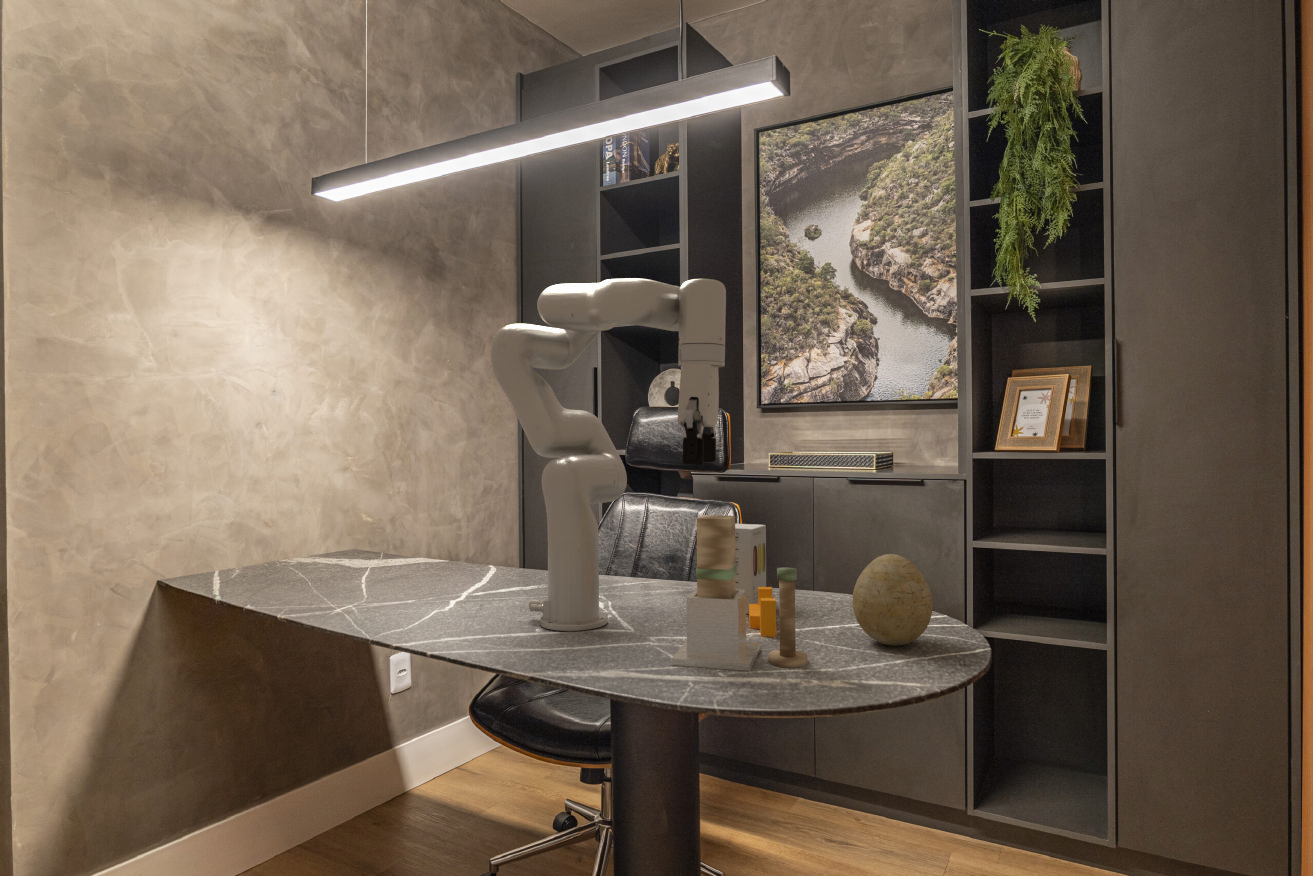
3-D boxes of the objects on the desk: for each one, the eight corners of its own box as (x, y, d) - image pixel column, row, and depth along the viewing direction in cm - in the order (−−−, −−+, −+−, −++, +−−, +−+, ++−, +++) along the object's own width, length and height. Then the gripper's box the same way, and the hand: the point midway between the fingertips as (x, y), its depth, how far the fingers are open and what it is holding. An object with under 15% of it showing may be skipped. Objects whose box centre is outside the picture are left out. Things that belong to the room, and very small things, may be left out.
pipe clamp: (748, 620, 143) (748, 586, 143) (771, 621, 142) (771, 587, 142) (750, 637, 131) (750, 600, 131) (776, 637, 130) (775, 600, 130)
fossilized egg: (872, 630, 134) (872, 546, 134) (944, 642, 126) (943, 553, 126) (839, 645, 124) (838, 555, 124) (914, 660, 116) (914, 562, 116)
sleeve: (671, 665, 114) (670, 599, 114) (688, 644, 126) (687, 584, 126) (750, 671, 111) (749, 603, 111) (760, 649, 123) (759, 587, 123)
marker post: (765, 666, 113) (765, 571, 113) (770, 655, 119) (769, 565, 119) (806, 668, 112) (805, 573, 112) (808, 657, 118) (808, 566, 118)
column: (696, 615, 116) (695, 518, 116) (703, 607, 122) (702, 514, 122) (731, 617, 115) (730, 519, 115) (736, 609, 120) (736, 515, 120)
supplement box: (752, 615, 146) (752, 529, 146) (708, 611, 150) (708, 527, 150) (767, 605, 155) (766, 524, 155) (725, 601, 159) (724, 522, 159)
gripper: (691, 362, 131) (689, 460, 131) (665, 352, 114) (663, 464, 114) (733, 361, 129) (731, 461, 129) (713, 351, 112) (711, 466, 112)
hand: (699, 462), depth 122 cm, fingers open, 9 cm apart
